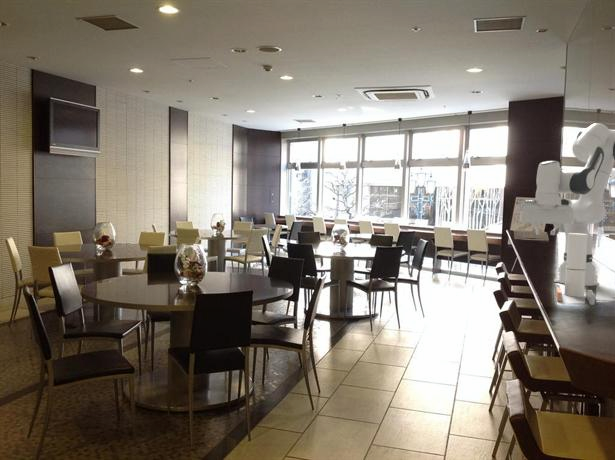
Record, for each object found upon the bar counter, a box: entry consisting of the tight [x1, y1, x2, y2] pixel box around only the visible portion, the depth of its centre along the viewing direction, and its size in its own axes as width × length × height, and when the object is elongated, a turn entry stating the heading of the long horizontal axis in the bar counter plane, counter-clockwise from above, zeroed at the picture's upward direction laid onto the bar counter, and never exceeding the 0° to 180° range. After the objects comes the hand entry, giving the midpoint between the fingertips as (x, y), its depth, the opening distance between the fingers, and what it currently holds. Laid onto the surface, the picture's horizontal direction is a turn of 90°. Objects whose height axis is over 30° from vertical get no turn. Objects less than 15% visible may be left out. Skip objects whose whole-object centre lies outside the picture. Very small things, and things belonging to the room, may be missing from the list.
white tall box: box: [564, 233, 588, 298], centre depth 217 cm, size 7×7×25 cm
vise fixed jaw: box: [586, 289, 596, 306], centre depth 204 cm, size 14×1×4 cm, turn 157°
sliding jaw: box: [554, 284, 563, 302], centre depth 212 cm, size 21×1×3 cm, turn 157°
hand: (545, 234), depth 219 cm, fingers open, 4 cm apart
